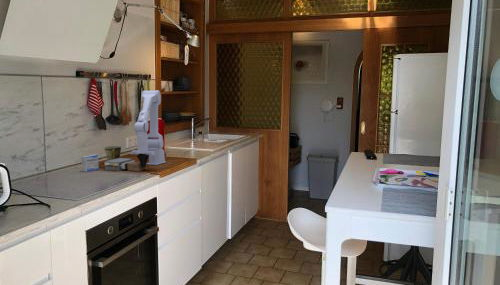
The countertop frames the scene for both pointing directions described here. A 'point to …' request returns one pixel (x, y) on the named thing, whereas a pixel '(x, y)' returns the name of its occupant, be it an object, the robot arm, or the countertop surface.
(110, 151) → the ceramic cup
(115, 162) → the gauge housing
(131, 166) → the walnut block
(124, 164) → the gauge plunger
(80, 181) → the countertop surface
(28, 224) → the countertop surface
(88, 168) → the medicine box
